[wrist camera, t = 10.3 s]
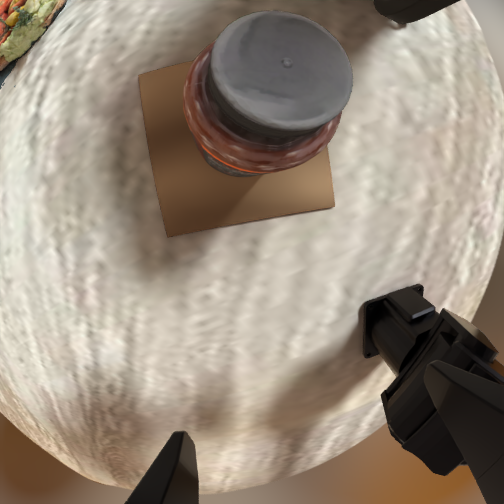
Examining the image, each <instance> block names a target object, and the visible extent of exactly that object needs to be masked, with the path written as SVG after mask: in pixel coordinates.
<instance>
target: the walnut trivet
mask: <svg viewBox="0 0 504 504" xmlns="http://www.w3.org/2000/svg"><path fill="white" fill-rule="evenodd" d="M193 62H194V61H190V62H185V63H181V64H177V65H172V66H169V67H165V68H161V69H157V70H154V71H151V72H147V73H144V74H141V75H138V76H139V85H140V93H141V101H142V109H143V116H144V123H145V129H146V136H147V142H148V147H149V153H150V159H151V164H152V169H153V175H154V180H155V184H156V189H157V194H158V199H159V203H160V208H161V212H162V216H163V221H164V225H165V229H166V233H167V237H172V236H177V235H182V234H187V233H191V232H196V231H201V230H206V229H211V228H216V227H222V226H227V225H232V224H237V223H242V222H248V221H253V220H259V219H264V218H270V217H275V216H281V215H287V214H293V213H298V212H304V211H310V210H316V209H322V208H329V207H335V201H334V192H333V184H332V176H331V168H330V161H329V154H328V148H327V146H326V147H325V148H324V149H323V150H322V151H321V152H320V153H319V154H317V155H316V156H315V157H313V158H311V159H310V160H308V161H307V162H305V163H303V164H301V165H299V166H296V167H294V168H291V169H287V170H283V171H279V172H276V173H268V174H262V175H257V176H252V177H235V176H230V175H226V174H224V173H221V172H219V171H217V170H216V169H214V168H212V167H211V166H210V165H209V164H208V163H207V162H206V161H205V159H204V158H203V157H202V155H201V153H200V152H199V150H198V148H197V146H196V144H195V141H194V139H193V136H192V134H191V131H190V128H189V126H188V123H187V120H186V117H185V113H184V108H183V90H184V83H185V79H186V76H187V73H188V71H189V69H190V67H191V65H192V63H193Z"/></svg>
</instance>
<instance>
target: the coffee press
mask: <svg viewBox="0 0 504 504" xmlns="http://www.w3.org/2000/svg"><path fill="white" fill-rule="evenodd" d="M458 1H460V0H374V5H375V8H376V10H377V11H378V12H379V13H380V14H381V15H383V16H385V17H387V18H389V19H391V20H393V21H395V22H397V23H401V24H406V23H411V22H415V21H418V20H420V19H422V18H425V17H427V16H429V15H431V14H433V13H435V12H437V11H439V10H441V9H443V8H445V7H447V6H450V5H452V4H454V3H456V2H458Z"/></svg>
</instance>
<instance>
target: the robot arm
mask: <svg viewBox="0 0 504 504" xmlns="http://www.w3.org/2000/svg"><path fill="white" fill-rule="evenodd" d="M418 289H419V290H418ZM423 291H424V287H423V286H422V285H421V284H416V285H413V286H411V287H406V288H403V289H400V290H398V291H395V292H392V293H389V294H387V295H384V296H381V297H378V298H375V299H372V300H369V301H367V302H366V303H365V305H364V335H363V356H364V357H365V358H370V357H373V356H376V355H378V354H380V355H381V357H382V358H383V359H384V361H385V362H386V363H387V365H388V366H389V368H390V369H391V370H392V372H393V373H394V374H395V376H396V379H395V380H394V381H393V382H392V383H391V385H390V386H389V387H388V388H387V389H386V390H384V391H383V393H382V394H381V399H382V403H383V407H384V411H385V415H386V419H387V423H388V428H389V430H390V433H391V435H392V436H393V437H394V438H395V440H397V441H398V442H399V443H400V444H401V445H402V447H403V449H405V450H407V451H409V452H411V453H413V454H414V455H415V456H417V457H418V458H419V459H421V460H422V461H423V462H424V463H425V465H426V466H427V467H428V468H429V469H430V470H431V471H432V472H433V473H435V474H439V475H443V476H446V475H448V474H449V473H450V472H451V471H453V470H454V469H455V468H456V467H457V466H459V465H468V466H469V468H470V470H471V472H472V474H473V476H474V478H475V479H476V482H477V484H478V486H479V488H480V490H481V493H482V495H483V497H484V499H485V501H486V503H487V504H504V366H503V365H502V364H501V363H500V362H498V361H497V360H496V359H495V358H496V357H497V355H498V353H499V352H498V351H497V349H496V348H495V347H494V345H493V344H492V343H491V342H490V340H489V339H488V338H487V337H486V336H485V334H484V333H483V332H481V331H480V330H479V329H477V328H476V327H475V326H474V325H472V324H471V323H470V322H468V321H467V320H465V319H463V318H461V317H460V316H458V315H456V314H454V313H452V312H450V311H448V310H446V309H445V308H443V309H442V310H441V312H440V314H439V313H438V312H436V311H435V306H433V305H432V304H431V303H430V302H428V301H427V300H426V299H425V298H423ZM370 305H371V307H370V308H369V306H370ZM198 499H199V480H198V470H197V461H196V451H195V444H194V442H193V440H192V439H191V438H190V436H189V435H188V433H187V432H186V431H175V432H173V434H172V435H171V437H170V438H169V440H168V441H167V443H166V444H165V446H164V447H163V449H162V450H161V452H160V453H159V455H158V456H157V458H156V459H155V460H154V462H153V463H152V465H151V466H150V468H149V469H148V471H147V472H146V474H145V475H144V476H143V478H142V479H141V481H140V482H139V484H138V485H137V487H136V488H135V489H134V491H133V492H132V494H131V495H130V497H129V498H128V501H126V502H125V503H124V504H199V500H198Z"/></svg>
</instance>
